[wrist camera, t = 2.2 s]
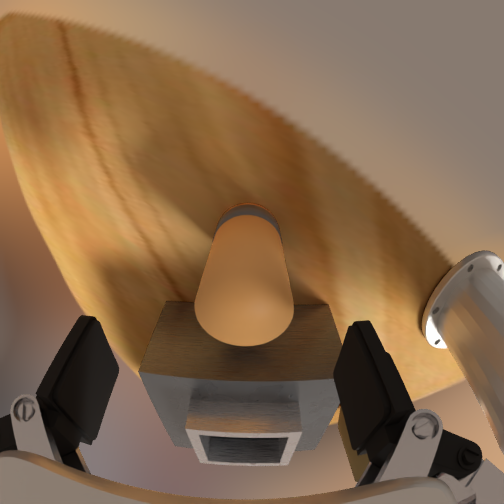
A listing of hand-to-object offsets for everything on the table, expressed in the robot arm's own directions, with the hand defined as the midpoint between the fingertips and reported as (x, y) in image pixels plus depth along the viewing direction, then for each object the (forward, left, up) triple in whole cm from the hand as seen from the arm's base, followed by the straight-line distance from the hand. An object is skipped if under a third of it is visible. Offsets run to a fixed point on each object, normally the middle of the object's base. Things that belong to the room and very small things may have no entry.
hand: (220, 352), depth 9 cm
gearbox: (-1, +13, -12) cm, 18 cm away
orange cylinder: (-1, 0, -12) cm, 12 cm away
